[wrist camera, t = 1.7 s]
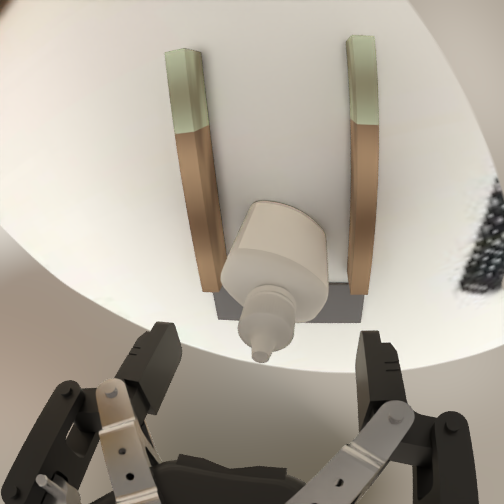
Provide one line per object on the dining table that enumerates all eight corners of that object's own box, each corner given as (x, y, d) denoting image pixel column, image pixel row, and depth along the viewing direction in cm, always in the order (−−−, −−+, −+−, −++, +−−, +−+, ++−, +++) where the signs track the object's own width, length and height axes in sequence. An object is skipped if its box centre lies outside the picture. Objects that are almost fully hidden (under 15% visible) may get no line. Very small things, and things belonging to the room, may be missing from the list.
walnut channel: (183, 55, 18) (164, 52, 15) (365, 42, 16) (374, 36, 13) (213, 269, 25) (202, 291, 23) (362, 270, 23) (367, 294, 21)
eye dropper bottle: (286, 178, 21) (260, 284, 11) (333, 241, 23) (343, 376, 12) (236, 213, 23) (174, 331, 13) (283, 270, 24) (260, 405, 14)
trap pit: (212, 280, 26) (211, 283, 26) (365, 282, 24) (365, 285, 24) (218, 317, 28) (218, 319, 28) (360, 320, 26) (360, 322, 25)
